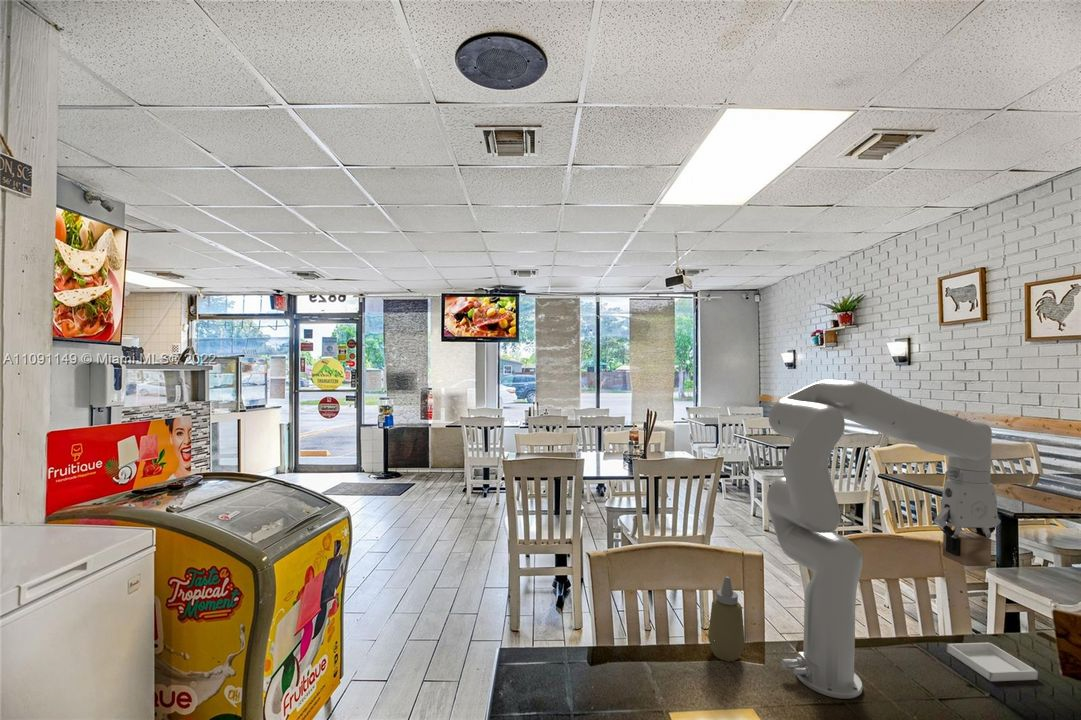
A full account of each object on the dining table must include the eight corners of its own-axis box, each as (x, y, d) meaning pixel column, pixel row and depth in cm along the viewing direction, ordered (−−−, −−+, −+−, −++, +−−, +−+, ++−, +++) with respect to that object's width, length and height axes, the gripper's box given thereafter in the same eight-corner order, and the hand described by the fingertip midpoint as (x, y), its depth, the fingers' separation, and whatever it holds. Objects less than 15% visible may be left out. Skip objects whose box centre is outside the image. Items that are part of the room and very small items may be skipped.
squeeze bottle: (738, 670, 112) (740, 589, 112) (702, 656, 117) (703, 578, 117) (748, 653, 119) (750, 576, 118) (714, 640, 123) (715, 567, 123)
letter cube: (965, 566, 114) (966, 539, 114) (942, 555, 120) (943, 530, 120) (990, 565, 115) (991, 539, 115) (966, 555, 121) (967, 529, 121)
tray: (990, 683, 109) (991, 672, 109) (946, 653, 120) (947, 643, 120) (1037, 681, 110) (1037, 671, 110) (989, 651, 120) (989, 642, 120)
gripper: (947, 480, 113) (945, 560, 113) (1019, 479, 114) (1017, 559, 114) (920, 472, 120) (917, 547, 121) (988, 471, 122) (985, 546, 122)
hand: (966, 552), depth 117 cm, fingers closed on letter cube, 6 cm apart
